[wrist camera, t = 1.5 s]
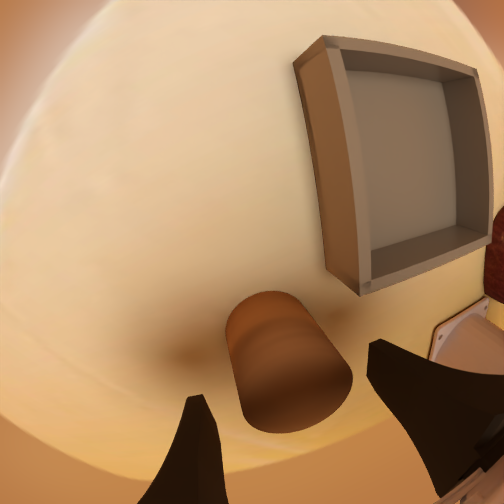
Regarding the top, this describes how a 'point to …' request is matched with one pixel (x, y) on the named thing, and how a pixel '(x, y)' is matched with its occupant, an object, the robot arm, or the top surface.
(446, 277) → the top surface
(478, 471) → the robot arm
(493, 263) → the vegetable
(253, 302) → the walnut cylinder
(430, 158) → the grey bin
